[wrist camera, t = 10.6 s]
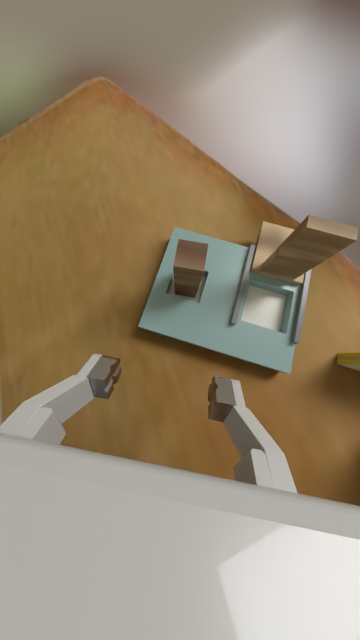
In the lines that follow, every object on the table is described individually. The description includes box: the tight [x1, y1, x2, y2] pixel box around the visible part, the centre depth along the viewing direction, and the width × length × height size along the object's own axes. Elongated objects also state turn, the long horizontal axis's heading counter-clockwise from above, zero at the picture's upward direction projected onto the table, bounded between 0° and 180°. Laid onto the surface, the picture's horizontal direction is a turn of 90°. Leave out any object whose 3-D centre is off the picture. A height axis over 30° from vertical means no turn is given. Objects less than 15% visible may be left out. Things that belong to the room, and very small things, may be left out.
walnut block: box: [173, 239, 208, 298], centre depth 23 cm, size 4×4×9 cm
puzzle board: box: [138, 227, 311, 374], centre depth 26 cm, size 18×23×3 cm
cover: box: [250, 215, 358, 285], centre depth 22 cm, size 9×8×10 cm
